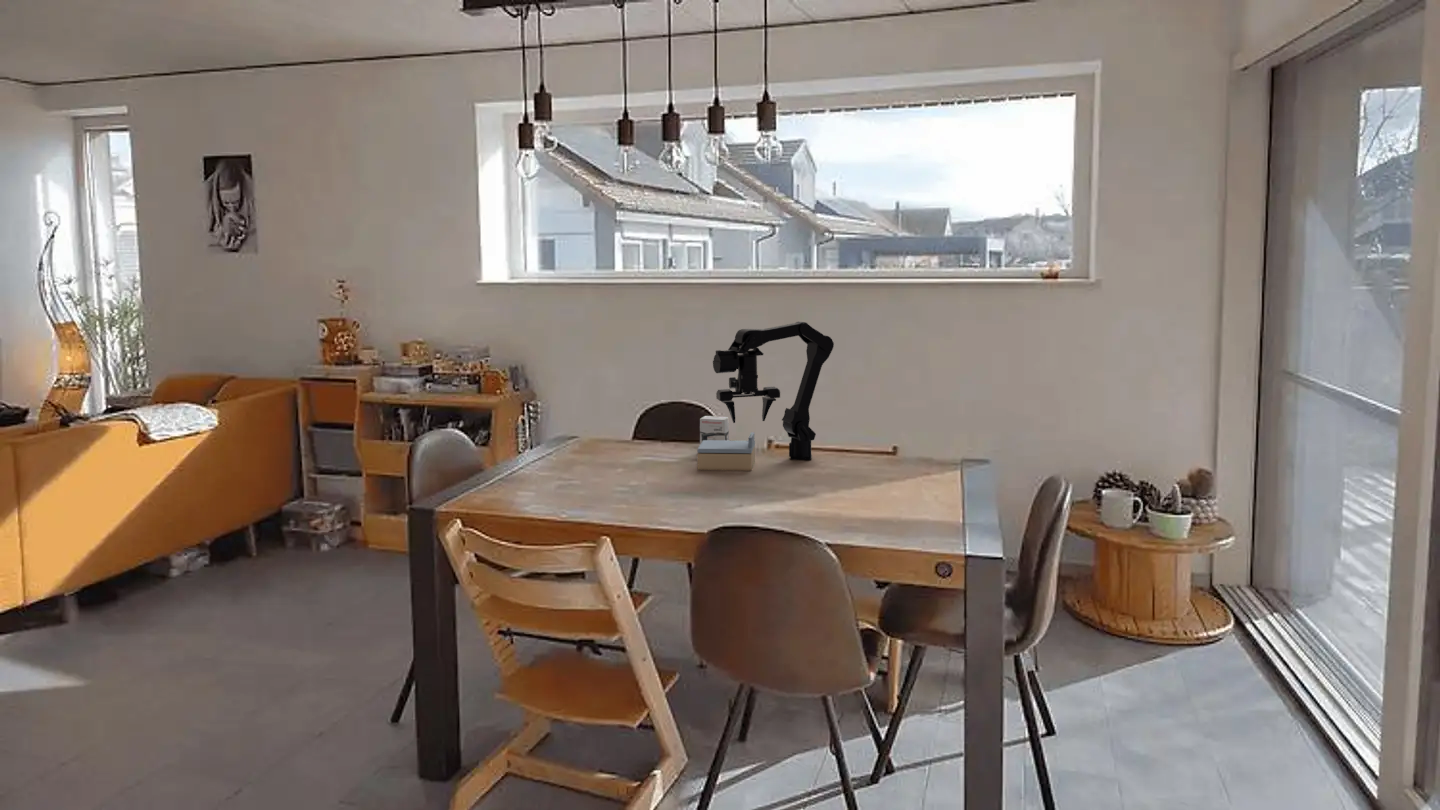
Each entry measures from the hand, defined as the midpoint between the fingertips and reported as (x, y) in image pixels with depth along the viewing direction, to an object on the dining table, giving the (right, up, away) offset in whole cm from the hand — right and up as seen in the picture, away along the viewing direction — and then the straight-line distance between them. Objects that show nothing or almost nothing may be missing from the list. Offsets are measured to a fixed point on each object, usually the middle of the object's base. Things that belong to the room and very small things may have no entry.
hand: (748, 421), depth 318 cm
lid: (-7, -8, -2) cm, 11 cm away
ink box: (-11, -11, +18) cm, 23 cm away
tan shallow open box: (-7, -13, -2) cm, 15 cm away
